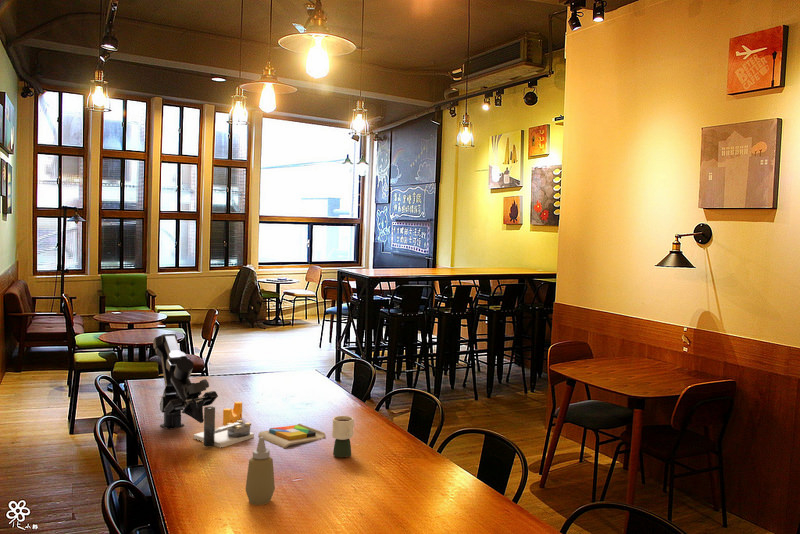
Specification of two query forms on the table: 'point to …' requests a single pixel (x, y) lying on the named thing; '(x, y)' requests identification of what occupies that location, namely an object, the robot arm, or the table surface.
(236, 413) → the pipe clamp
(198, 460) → the table surface
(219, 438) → the cap plate
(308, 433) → the wooden puzzle
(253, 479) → the squeeze bottle
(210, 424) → the dark cylinder with bar
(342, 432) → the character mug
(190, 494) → the table surface
